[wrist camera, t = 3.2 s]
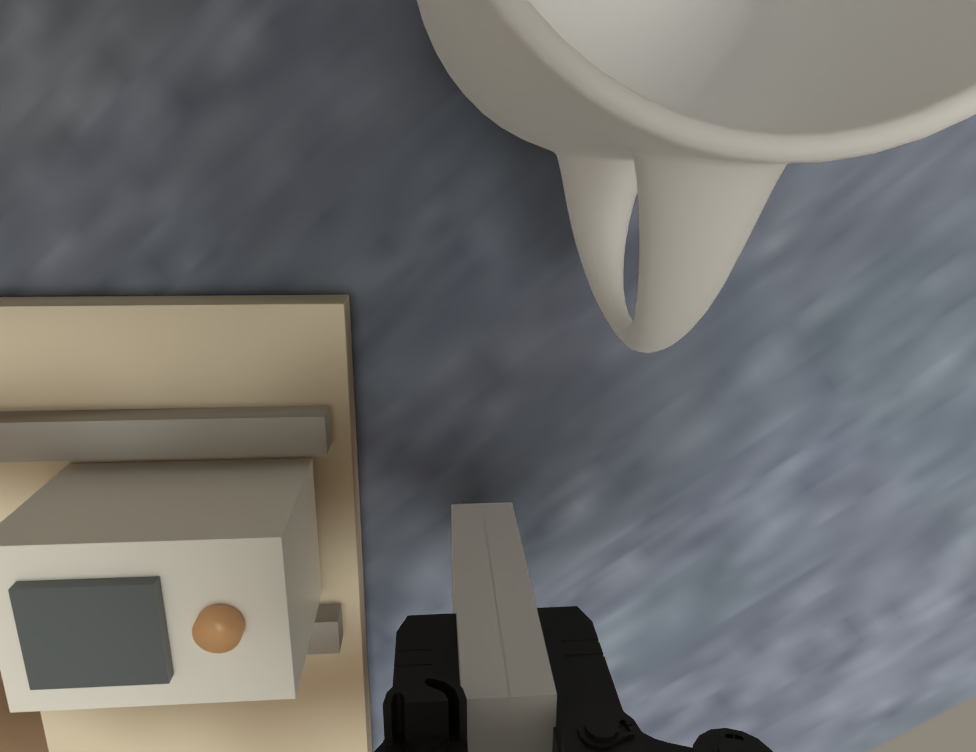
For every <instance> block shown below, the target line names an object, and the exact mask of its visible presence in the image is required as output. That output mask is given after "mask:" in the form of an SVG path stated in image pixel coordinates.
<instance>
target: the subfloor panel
mask: <svg viewBox="0 0 976 752" xmlns="http://www.w3.org/2000/svg"><path fill="white" fill-rule="evenodd" d="M289 458H312V460H313V475H314V489H315V503H316V517H317V531H318V545H319V560H320V574H321V588H322V594H321V598H320V602H319V606H318V610H317V614H316V618H315V622H314V626H313V630H312V634H311V638H310V642H309V647H308V651H307V655H306V659H305V663H304V667H303V671H302V675H301V679H300V683H299V687H298V691H297V695H296V699H281V700H261V701H240V702H219V703H199V704H178V705H158V706H137V707H116V708H96V709H75V710H54V711H34V712H13V713H10V710H9V706H8V701H7V697H6V693H5V689H4V684H3V680H2V676H1V671H0V752H372V736H371V717H370V697H369V677H368V657H367V637H366V617H365V598H364V578H363V558H362V538H361V518H360V499H359V479H358V459H357V439H356V419H355V399H354V380H353V360H352V340H351V320H350V300H349V295H222V296H77V297H0V522H2V521H3V520H4V519H5V518H6V517H7V516H9V515H10V514H11V513H12V512H13V511H14V510H16V509H17V508H18V507H19V506H20V505H22V504H23V503H24V502H25V501H26V500H27V499H29V498H30V497H31V496H32V495H33V494H34V493H36V492H37V491H38V490H39V489H40V488H41V487H43V486H44V485H45V484H46V483H47V482H48V481H50V480H51V479H52V478H53V477H54V476H55V475H57V474H58V473H59V472H60V471H61V470H62V469H64V468H65V467H66V466H67V465H68V464H78V463H121V462H163V461H205V460H247V459H289Z"/></svg>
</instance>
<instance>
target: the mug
mask: <svg viewBox="0 0 976 752" xmlns="http://www.w3.org/2000/svg"><path fill="white" fill-rule="evenodd" d="M417 3H418V7H419V10H420V14H421V17H422V21H423V24H424V26H425V29H426V31H427V33H428V36H429V38H430V40H431V43H432V45H433V47H434V50H435V52H436V54H437V55H438V57H439V59H440V60H441V62H442V64H443V66H444V67H445V69H446V71H447V72H448V74H449V76H450V77H451V78H452V80H453V81H454V82H455V83H456V85H457V86H458V87H459V89H460V90H461V91H462V93H463V94H464V95H465V96H466V97H467V98H468V99H469V100H470V101H471V102H472V103H473V104H474V105H475V106H476V107H477V108H478V109H479V110H480V111H481V112H482V113H483V114H484V115H485V116H487V117H488V118H489V119H491V120H492V121H493V122H495V123H496V124H497V125H498V126H500V127H501V128H503V129H505V130H506V131H508V132H510V133H512V134H514V135H515V136H517V137H519V138H521V139H523V140H525V141H527V142H530V143H532V144H535V145H537V146H540V147H543V148H545V149H548V150H550V151H553V152H554V153H555V154H556V156H557V158H558V162H559V167H560V171H561V176H562V182H563V187H564V193H565V198H566V204H567V209H568V214H569V218H570V223H571V227H572V232H573V236H574V240H575V243H576V247H577V250H578V253H579V257H580V260H581V263H582V266H583V269H584V271H585V274H586V277H587V280H588V283H589V285H590V288H591V290H592V293H593V295H594V297H595V299H596V301H597V303H598V305H599V307H600V309H601V311H602V313H603V315H604V316H605V318H606V320H607V321H608V323H609V325H610V326H611V328H612V329H613V331H614V332H615V334H616V335H617V336H618V337H619V339H620V340H621V341H622V342H623V343H624V344H625V345H626V346H628V347H629V348H630V349H632V350H635V351H639V352H644V353H652V352H657V351H660V350H663V349H665V348H667V347H669V346H671V345H673V344H674V343H676V342H677V341H678V340H680V339H681V338H682V337H683V336H685V335H686V334H687V333H688V332H689V331H690V330H691V329H692V328H693V327H694V326H695V324H696V323H697V322H698V321H699V320H700V319H701V318H702V316H703V315H704V314H705V313H706V312H707V311H708V309H709V307H710V306H711V304H712V303H713V301H714V300H715V298H716V297H717V295H718V294H719V292H720V290H721V289H722V287H723V286H724V284H725V282H726V280H727V278H728V276H729V274H730V272H731V271H732V269H733V267H734V265H735V263H736V261H737V259H738V257H739V256H740V254H741V252H742V250H743V248H744V246H745V244H746V242H747V240H748V238H749V236H750V234H751V232H752V230H753V228H754V226H755V224H756V222H757V220H758V218H759V216H760V214H761V212H762V210H763V208H764V206H765V204H766V202H767V200H768V198H769V196H770V194H771V192H772V190H773V188H774V186H775V184H776V183H777V181H778V179H779V177H780V176H781V174H782V172H783V171H784V169H785V167H786V165H787V164H788V163H816V162H828V161H834V160H840V159H846V158H852V157H858V156H864V155H870V154H875V153H878V152H881V151H884V150H888V149H891V148H894V147H897V146H901V145H904V144H907V143H910V142H914V141H917V140H920V139H923V138H925V137H927V136H930V135H932V134H934V133H936V132H939V131H941V130H943V129H945V128H947V127H950V126H952V125H954V124H956V123H959V122H961V121H963V120H965V119H967V118H970V117H972V116H973V115H975V114H976V0H417ZM637 192H638V207H639V278H638V292H637V301H636V308H635V315H634V319H633V321H632V319H631V318H630V316H629V314H628V310H627V307H626V303H625V296H624V289H623V267H624V253H625V244H626V237H627V232H628V226H629V221H630V217H631V213H632V209H633V205H634V202H635V199H636V195H637Z"/></svg>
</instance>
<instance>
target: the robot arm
mask: <svg viewBox="0 0 976 752" xmlns="http://www.w3.org/2000/svg"><path fill="white" fill-rule="evenodd" d="M451 533H452V597H453V614H433V615H411V616H407V618H406V619H405V621H404V622H403V624H402V625H401V626H400V628H399V629H398V631H397V634H396V648H395V662H394V676H393V687H392V688H391V689H390V690H389V691H388V692H387V694H386V697H385V700H384V702H383V717H384V736H385V739H384V741H383V743H382V744H381V745H380V746H379V747H378V748H377V749H376V750H375V751H374V752H773V751H772V750H771V749H769V748H768V747H767V746H766V745H765V744H764V743H762V742H761V741H760V740H759V739H757V738H755V737H753V736H751V735H749V734H747V733H745V732H743V731H738V730H733V729H728V728H721V729H711V730H709V731H707V732H705V733H703V734H701V735H699V737H698V738H697V740H696V741H695V743H694V744H693V748H691V747H686V746H681V745H676V744H671V743H667V742H664V741H660V740H657V739H654V738H652V737H650V736H648V735H646V734H644V733H643V732H641V730H640V729H639V727H638V726H637V724H636V722H635V721H634V719H632V718H631V717H630V716H629V715H627V714H626V713H625V712H624V711H623V709H622V707H621V704H620V701H619V698H618V695H617V692H616V689H615V686H614V683H613V681H612V678H611V675H610V672H609V669H608V666H607V663H606V660H605V657H603V652H602V649H601V646H600V643H599V642H598V637H597V634H596V631H595V628H594V626H593V623H592V621H591V620H590V619H589V618H588V617H587V616H586V615H585V614H584V613H583V612H582V611H581V610H580V609H579V608H578V607H577V606H571V607H549V608H537V607H536V603H535V598H534V594H533V590H532V586H531V581H530V577H529V573H528V568H527V564H526V560H525V556H524V551H523V547H522V543H521V538H520V534H519V530H518V526H517V521H516V517H515V513H514V508H513V504H512V502H504V503H475V504H451Z"/></svg>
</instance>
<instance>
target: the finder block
mask: <svg viewBox="0 0 976 752" xmlns="http://www.w3.org/2000/svg"><path fill="white" fill-rule="evenodd" d="M321 594H322V588H321V574H320V560H319V545H318V531H317V517H316V503H315V489H314V475H313V460H312V458H289V459H247V460H205V461H163V462H121V463H78V464H68V465H67V466H66V467H65V468H64V469H62V470H61V471H60V472H59V473H58V474H57V475H55V476H54V477H53V478H52V479H51V480H50V481H48V482H47V483H46V484H45V485H44V486H43V487H41V488H40V489H39V490H38V491H37V492H36V493H34V494H33V495H32V496H31V497H30V498H29V499H27V500H26V501H25V502H24V503H23V504H22V505H20V506H19V507H18V508H17V509H16V510H14V511H13V512H12V513H11V514H10V515H9V516H7V517H6V518H5V519H4V520H3V521H2V522H0V671H1V676H2V680H3V684H4V689H5V693H6V697H7V701H8V706H9V710H10V713H13V712H34V711H54V710H75V709H96V708H116V707H137V706H158V705H178V704H199V703H219V702H240V701H261V700H281V699H296V695H297V691H298V687H299V683H300V679H301V675H302V671H303V667H304V663H305V659H306V655H307V651H308V647H309V642H310V638H311V634H312V630H313V626H314V622H315V618H316V614H317V610H318V606H319V602H320V598H321Z"/></svg>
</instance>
